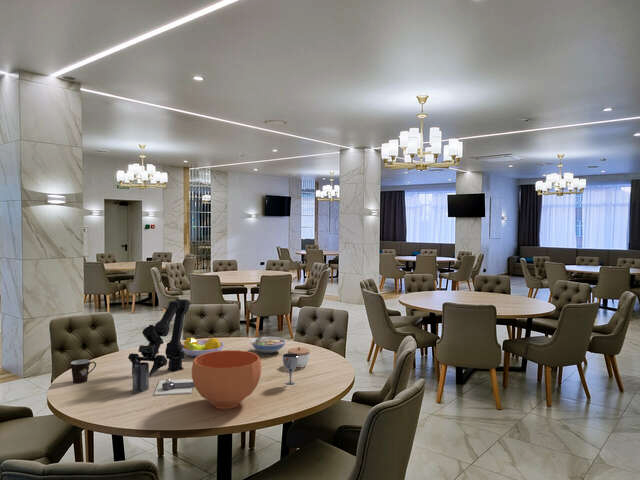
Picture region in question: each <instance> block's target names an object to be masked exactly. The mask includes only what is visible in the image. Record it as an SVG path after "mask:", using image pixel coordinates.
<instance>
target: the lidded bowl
mask: <svg viewBox="0 0 640 480" xmlns="http://www.w3.org/2000/svg"><path fill="white" fill-rule="evenodd" d="M310 352H311V351H310V349H309V348H305V347H301V346H298V347H292V348H289V349H288V350H287V353H295V354H298V365H297V367H302V366H305V367H306V365H307V364H308V363H309V360H310ZM302 368H303V367H302Z"/></svg>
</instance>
